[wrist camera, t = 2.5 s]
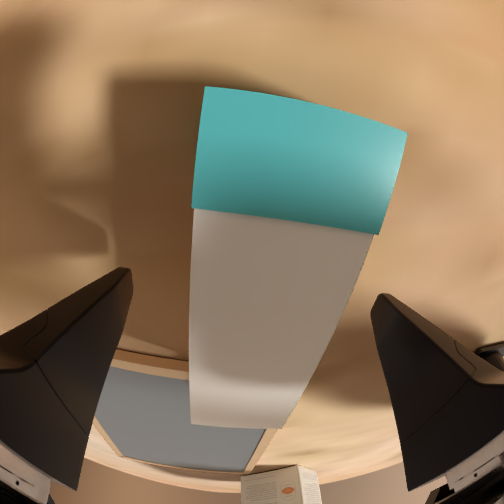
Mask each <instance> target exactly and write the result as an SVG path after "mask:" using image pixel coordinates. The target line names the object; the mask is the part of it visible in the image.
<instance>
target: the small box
mask: <svg viewBox="0 0 504 504" xmlns="http://www.w3.org/2000/svg"><path fill="white" fill-rule="evenodd" d="M241 504H322V501H321V495H320V489H319V482H318V476H317V472H316V471H315V470H311V469H308V468H305V467H303V466H299V465H295V466H291V467H287V468H283V469H279V470H274V471H269V472H264V473H259V474H253V475H246V476H241Z"/></svg>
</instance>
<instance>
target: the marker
mask: <svg viewBox="0 0 504 504" xmlns="http://www.w3.org/2000/svg"><path fill="white" fill-rule="evenodd" d="M407 134H408V133H407V132H404V131H402V130H399V129H396V128H394V127H391V126H388V125H386V124H383V123H380V122H377V121H374V120H371V119H368V118H365V117H362V116H358V115H355V114H352V113H348V112H345V111H342V110H338V109H334V108H331V107H327V106H323V105H319V104H315V103H310V102H306V101H301V100H297V99H292V98H287V97H282V96H276V95H271V94H265V93H259V92H252V91H245V90H237V89H228V88H219V87H207V86H205V90H204V97H203V103H202V111H201V118H200V126H199V134H198V142H197V151H196V160H195V170H194V181H193V192H192V204H191V208H194V219H193V233H192V250H191V270H190V297H189V392H190V418H191V424H197V425H206V426H217V427H230V428H251V429H282V427H283V426H284V424H285V423H286V421H287V419H288V418H289V416H290V414H291V413H292V411H293V409H294V408H295V406H296V404H297V402H298V401H299V399H300V397H301V395H302V394H303V392H304V390H305V388H306V386H307V385H308V383H309V381H310V379H311V377H312V375H313V374H314V372H315V370H316V368H317V366H318V364H319V362H320V360H321V358H322V356H323V354H324V352H325V350H326V348H327V346H328V344H329V342H330V340H331V338H332V336H333V334H334V332H335V329H336V327H337V325H338V323H339V321H340V319H341V316H342V314H343V312H344V310H345V307H346V305H347V303H348V301H349V298H350V296H351V293H352V291H353V289H354V286H355V284H356V281H357V279H358V276H359V274H360V271H361V269H362V266H363V264H364V261H365V258H366V256H367V253H368V250H369V248H370V245H371V242H372V239H373V236H374V234H376V235H379V232H380V229H381V226H382V223H383V220H384V217H385V214H386V211H387V208H388V205H389V201H390V198H391V195H392V192H393V188H394V185H395V181H396V178H397V174H398V171H399V167H400V163H401V159H402V155H403V151H404V147H405V143H406V139H407Z"/></svg>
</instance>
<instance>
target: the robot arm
mask: <svg viewBox="0 0 504 504" xmlns="http://www.w3.org/2000/svg"><path fill="white" fill-rule="evenodd" d="M132 295H133V282H132V273H131V270H130V269H129V268H123V267H119V268H117V269H115V270H113V271H111V272H110V273H108V274H106V275H104V276H103V277H101V278H99V279H97V280H95V281H94V282H92V283H90V284H88V285H87V286H85V287H83V288H82V289H80V290H78V291H76V292H75V293H73V294H71V295H70V296H68V297H66V298H65V299H63V300H61V301H60V302H58V303H56V304H55V305H53V306H51V307H50V308H48V310H45V311H43V312H42V313H40V314H38V315H37V316H35V317H33V318H32V319H30V320H28V321H26V322H25V323H23V324H21V325H19V326H17V327H15V328H14V329H12V330H10V331H8V332H6V333H4V334H2V335H0V504H55V503H54V501H53V500H52V498H51V496H50V494H49V490H50V486H51V482H52V481H54V482H56V483H58V484H61V485H63V486H65V487H68V488H70V489H72V490H75V491H77V488H78V483H79V478H80V473H81V468H82V463H83V459H84V455H85V450H86V446H87V442H88V438H89V437H88V436H89V434H90V430H91V426H92V423H93V419H94V416H95V412H96V409H97V405H98V402H99V399H100V396H101V392H102V389H103V386H104V383H105V380H106V377H107V374H108V371H109V368H110V365H111V362H112V359H113V357H114V354H115V351H116V348H117V346H118V343H119V340H120V337H121V335H122V332H123V329H124V325H125V321H126V317H127V313H128V310H129V306H130V302H131V299H132ZM371 320H372V325H373V330H374V335H375V340H376V345H377V350H378V354H379V357H380V361H381V364H382V368H383V371H384V375H385V379H386V383H387V386H388V390H389V394H390V398H391V403H392V407H393V411H394V415H395V420H396V425H397V429H398V434H399V439H400V443H401V444H400V445H401V451H402V456H403V462H404V468H405V475H406V482H407V488H408V491H412V490H414V489H416V488H419V487H421V486H423V485H426V484H428V483H430V482H433V481H435V480H437V479H439V478H441V477H443V476H446V479H447V484H445V485H443V486H441V487H439V488H437V489H435V490H433V491H432V492H431V493H430V495H429V497H428V499H427V501H426V503H425V504H504V358H503V356H504V343H503V344H498V345H494V346H490V347H485V348H481V349H479V350H477V351H476V352H475V353H473V352H471V351H470V350H468V349H467V348H466V347H464V346H463V345H461V344H460V343H459V342H457V341H456V340H453V338H452V337H450V336H449V335H448V334H446V333H445V332H443V331H442V330H441V329H439V328H438V327H437V326H435V325H434V324H432V323H431V322H429V321H428V320H427V319H425V318H424V317H422V316H421V315H420V314H418V313H417V312H415V311H414V310H412V309H411V308H409V307H408V306H407V305H405V304H404V303H402V302H401V301H399V300H398V299H396V298H395V297H393V296H392V295H390V294H386V293H381V294H379V295H378V296H377V299H376V301H375V303H374V305H373V307H372V309H371Z"/></svg>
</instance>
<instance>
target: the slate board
mask: <svg viewBox="0 0 504 504" xmlns="http://www.w3.org/2000/svg"><path fill="white" fill-rule="evenodd" d="M92 424H93V425H94V426H95V428H96V429H97V430H98V432H99V433H100V434H101V436H102V437H103V438H104V440H105V441H106V442H107V443H108V445H109V446H110V447H111V448H112V450H113V451H114V452H115V453H116V454H117V456H118V457H122V458H126V459H130V460H134V461H138V462H143V463H148V464H153V465H158V466H164V467H169V468H176V469H183V470H191V471H200V472H211V473H226V474H250V473H251V471H252V470H253V468H254V467H255V465H256V464H257V462H258V460H259V459H260V457H261V456H262V454H263V453H264V451H265V449H266V448H267V446H268V444H269V443H270V441H271V439H272V438H273V436H274V434H275V433H276V431H277V429H251V428H230V427H217V426H206V425H197V424H191V418H190V392H189V361H181V360H174V359H167V358H161V357H155V356H149V355H143V354H138V353H133V352H128V351H123V350H118V349H116V351H115V354H114V357H113V359H112V362H111V365H110V368H109V371H108V374H107V377H106V380H105V383H104V386H103V389H102V392H101V396H100V399H99V402H98V405H97V409H96V412H95V416H94V419H93V423H92Z"/></svg>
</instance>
